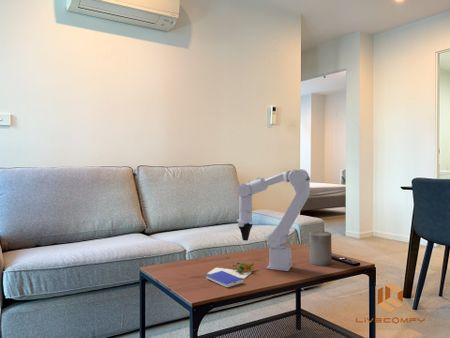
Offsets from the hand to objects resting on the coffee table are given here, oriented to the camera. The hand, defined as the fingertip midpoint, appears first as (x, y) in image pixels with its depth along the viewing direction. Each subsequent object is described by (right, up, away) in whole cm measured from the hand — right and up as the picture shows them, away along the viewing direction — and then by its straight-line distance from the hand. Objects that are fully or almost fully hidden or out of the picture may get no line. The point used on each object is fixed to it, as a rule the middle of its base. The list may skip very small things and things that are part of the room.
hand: (245, 240), depth 164 cm
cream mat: (-7, -11, -16) cm, 20 cm away
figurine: (-4, -9, -10) cm, 14 cm away
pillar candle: (+34, -11, +1) cm, 36 cm away
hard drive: (-9, -11, -26) cm, 29 cm away
